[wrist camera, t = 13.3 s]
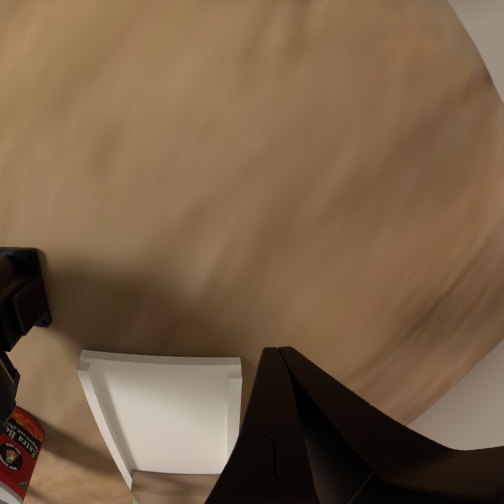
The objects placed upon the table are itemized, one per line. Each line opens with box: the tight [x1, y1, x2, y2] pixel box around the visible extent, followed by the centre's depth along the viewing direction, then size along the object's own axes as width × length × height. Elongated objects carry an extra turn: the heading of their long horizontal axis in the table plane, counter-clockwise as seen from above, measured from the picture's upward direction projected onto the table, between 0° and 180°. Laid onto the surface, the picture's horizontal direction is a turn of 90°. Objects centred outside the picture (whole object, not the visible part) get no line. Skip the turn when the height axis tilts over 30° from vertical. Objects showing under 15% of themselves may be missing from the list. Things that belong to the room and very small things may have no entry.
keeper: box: [131, 471, 220, 504], centre depth 26 cm, size 10×4×3 cm, turn 86°
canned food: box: [0, 406, 44, 504], centre depth 18 cm, size 8×8×11 cm
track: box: [77, 350, 242, 504], centre depth 24 cm, size 13×24×4 cm, turn 176°
